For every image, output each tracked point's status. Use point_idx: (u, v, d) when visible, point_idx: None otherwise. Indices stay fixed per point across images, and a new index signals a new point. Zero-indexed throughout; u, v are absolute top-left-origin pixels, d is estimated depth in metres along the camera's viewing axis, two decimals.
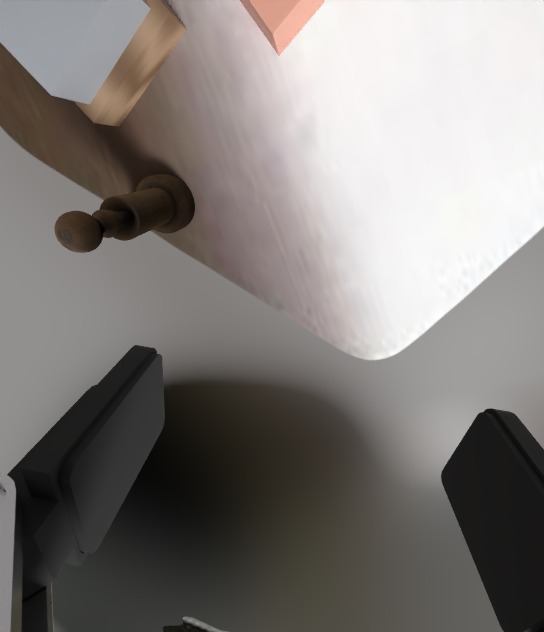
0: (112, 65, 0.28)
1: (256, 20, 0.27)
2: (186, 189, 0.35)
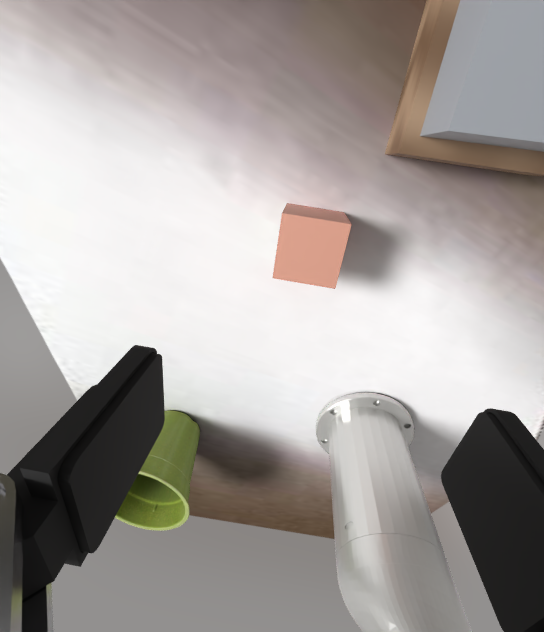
0: (452, 29, 0.19)
1: (317, 210, 0.27)
2: None
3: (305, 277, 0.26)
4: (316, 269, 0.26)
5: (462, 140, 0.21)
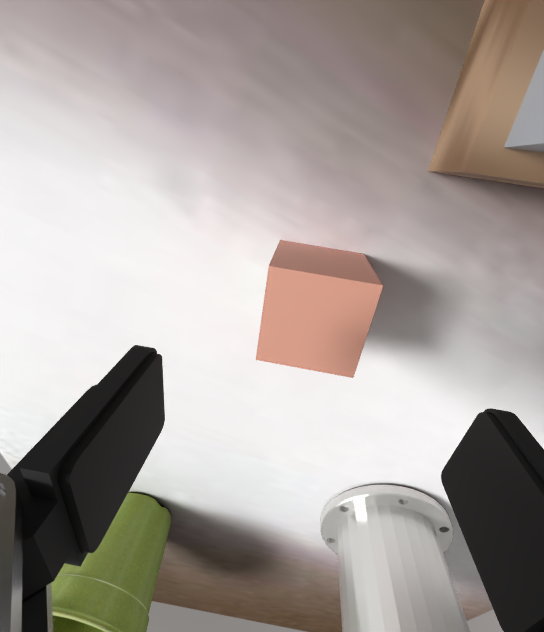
0: None
1: (324, 253, 0.18)
2: None
3: (306, 360, 0.17)
4: (324, 350, 0.16)
5: None
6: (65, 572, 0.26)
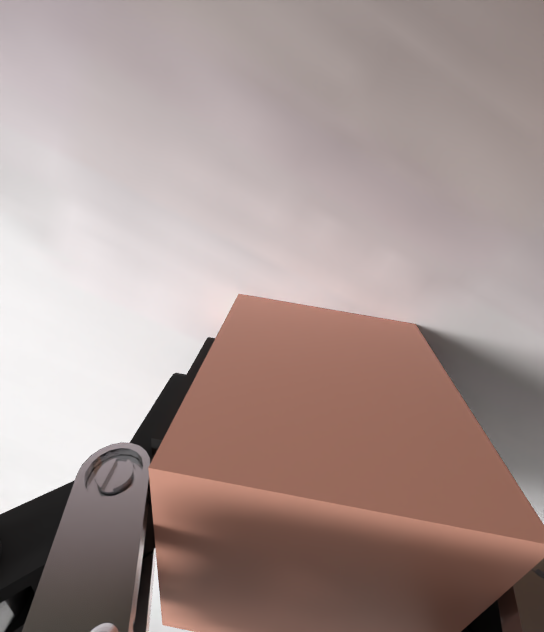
0: None
1: (333, 340, 0.08)
2: None
3: None
4: None
5: None
6: None
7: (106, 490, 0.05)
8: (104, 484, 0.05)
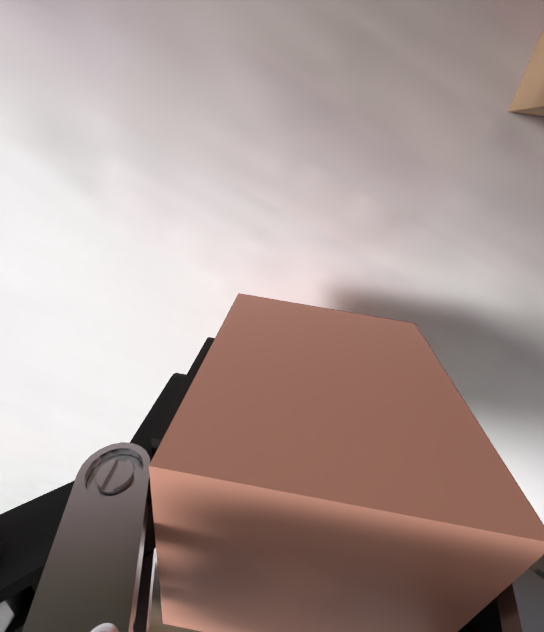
0: None
1: (333, 339, 0.08)
2: None
3: None
4: (337, 631, 0.06)
5: None
6: None
7: (106, 489, 0.05)
8: (104, 484, 0.05)
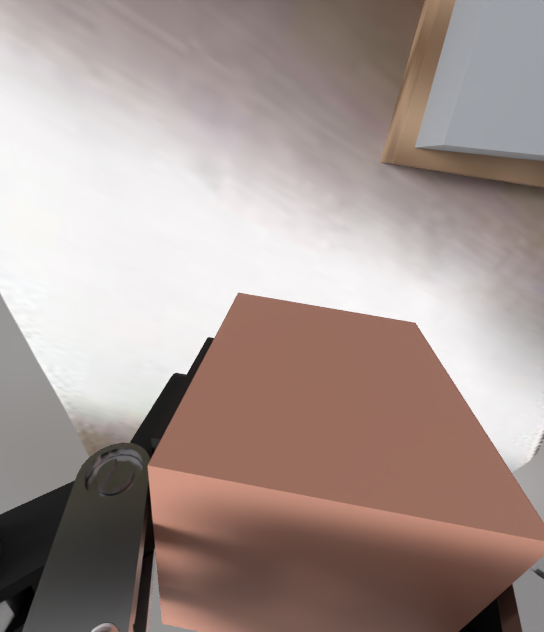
0: (446, 37, 0.18)
1: (333, 339, 0.08)
2: None
3: None
4: None
5: (459, 151, 0.20)
6: None
7: (106, 490, 0.05)
8: (104, 484, 0.05)
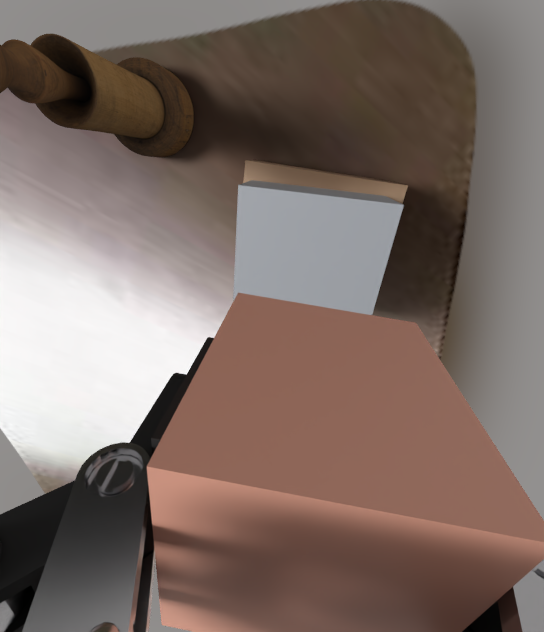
0: None
1: (333, 339, 0.08)
2: None
3: None
4: None
5: None
6: None
7: (106, 490, 0.05)
8: (104, 484, 0.05)
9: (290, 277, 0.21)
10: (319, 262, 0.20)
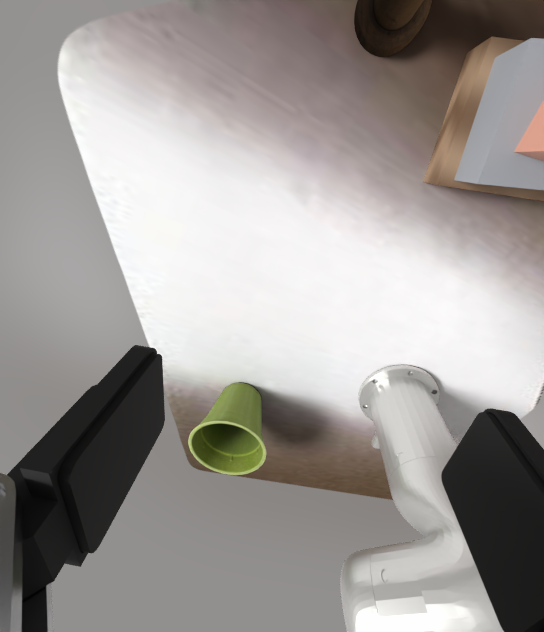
0: (477, 115, 0.29)
1: None
2: (375, 52, 0.30)
3: None
4: None
5: None
6: (217, 412, 0.46)
7: None
8: None
9: None
10: None
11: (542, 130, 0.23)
